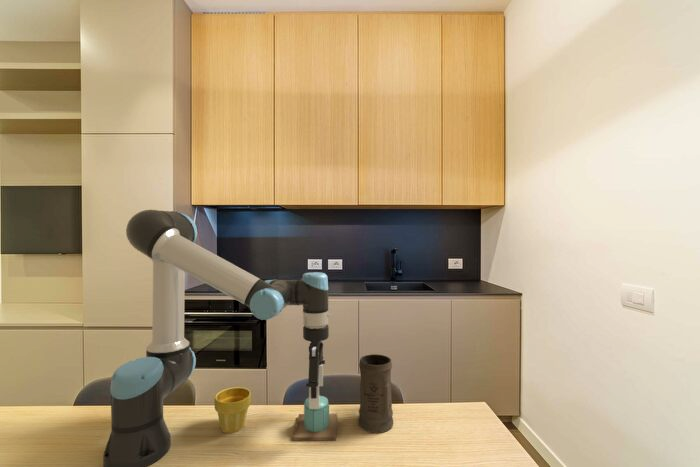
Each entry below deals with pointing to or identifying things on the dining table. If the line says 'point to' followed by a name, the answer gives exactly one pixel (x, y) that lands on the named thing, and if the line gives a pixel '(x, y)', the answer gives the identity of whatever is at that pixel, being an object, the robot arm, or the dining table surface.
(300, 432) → the post block
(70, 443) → the dining table surface
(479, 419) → the dining table surface
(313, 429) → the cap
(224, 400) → the plant pot
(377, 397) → the beer stein
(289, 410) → the dining table surface
